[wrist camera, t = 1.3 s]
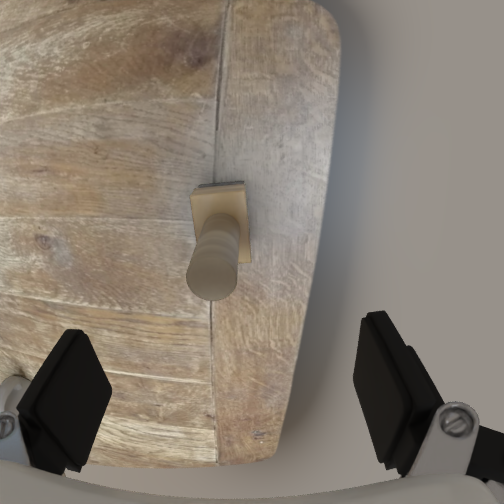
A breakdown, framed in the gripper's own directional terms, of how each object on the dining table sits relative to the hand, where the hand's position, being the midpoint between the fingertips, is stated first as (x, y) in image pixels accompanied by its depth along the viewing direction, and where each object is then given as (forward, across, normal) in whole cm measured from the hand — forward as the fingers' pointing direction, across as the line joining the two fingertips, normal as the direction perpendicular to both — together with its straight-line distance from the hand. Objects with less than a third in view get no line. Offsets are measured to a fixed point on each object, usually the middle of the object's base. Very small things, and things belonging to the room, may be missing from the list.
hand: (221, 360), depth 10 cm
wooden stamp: (+15, +1, 0) cm, 15 cm away
